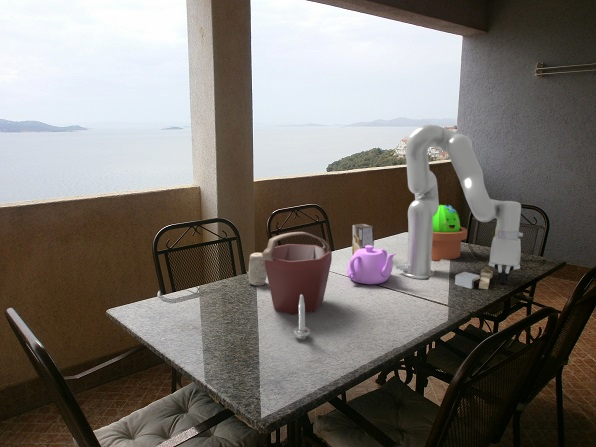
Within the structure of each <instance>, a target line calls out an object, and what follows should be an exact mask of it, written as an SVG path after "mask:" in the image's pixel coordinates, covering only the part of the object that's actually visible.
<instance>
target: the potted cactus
mask: <svg viewBox="0 0 596 447" xmlns="http://www.w3.org/2000/svg"><path fill="white" fill-rule="evenodd" d="M467 237H468V229H467V228H466V227H462V226H461V222H460V218H459V214H458V213H457V210H456V209H454V208H453V206H452V205H450V204H448V205H445V204H443V205H442V204H439V209H438V212H437V213H436V214H435V215H434V216H433V240H432V258H431V261H437V262H441V261H442V260H454V259H457V258H460V256H461V246H462V241H465V240H466V239H467Z"/></svg>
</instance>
